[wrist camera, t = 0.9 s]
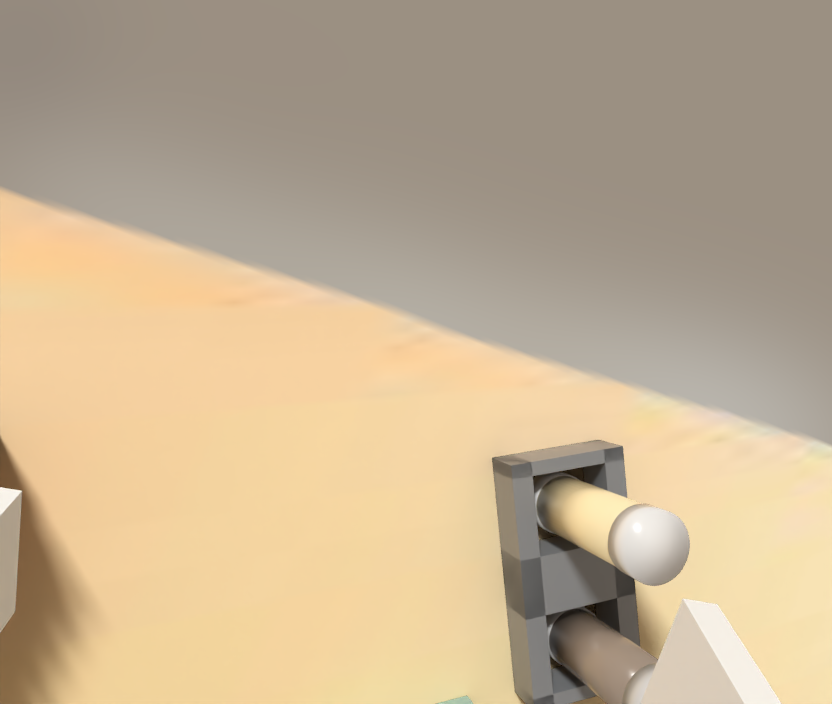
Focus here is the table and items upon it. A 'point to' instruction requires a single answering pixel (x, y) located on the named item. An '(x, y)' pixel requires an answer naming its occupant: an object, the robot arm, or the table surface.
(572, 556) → the block
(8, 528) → the robot arm
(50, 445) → the table surface
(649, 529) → the white rounded cylinder
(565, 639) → the fuse
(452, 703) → the parts tray
